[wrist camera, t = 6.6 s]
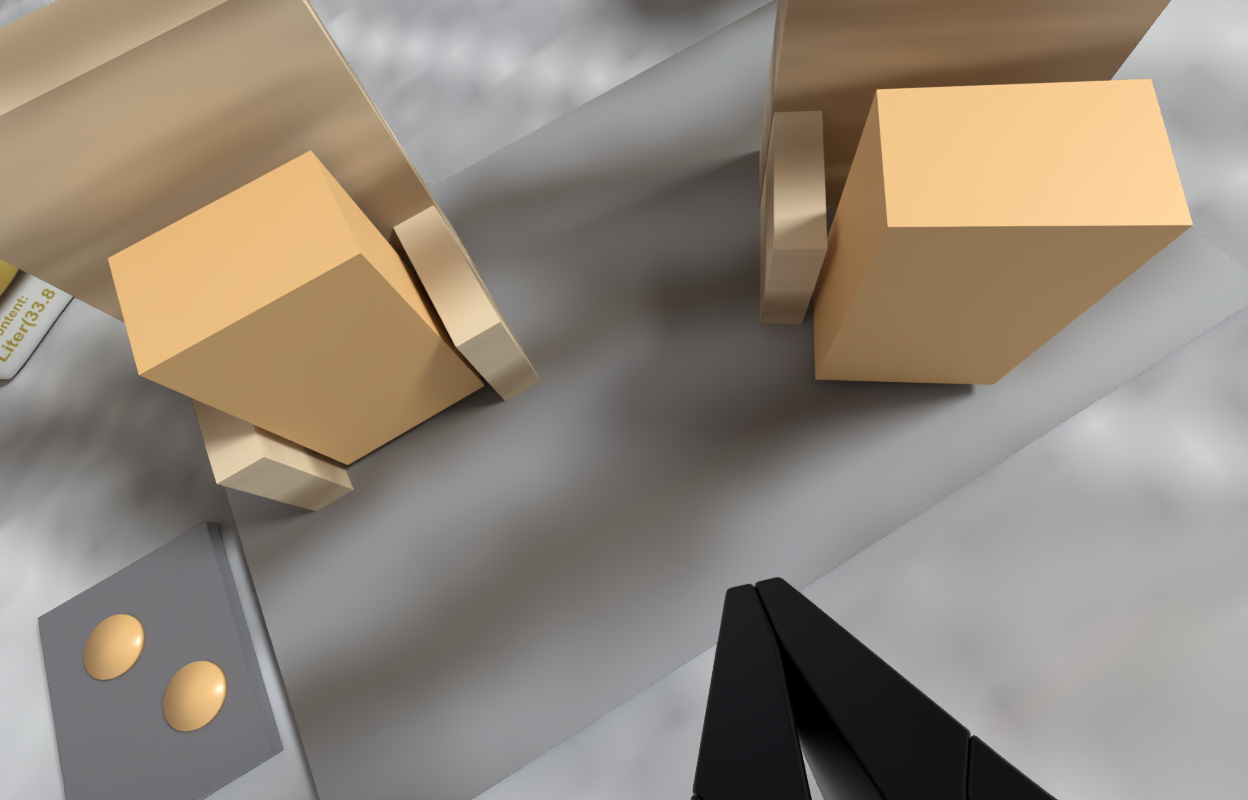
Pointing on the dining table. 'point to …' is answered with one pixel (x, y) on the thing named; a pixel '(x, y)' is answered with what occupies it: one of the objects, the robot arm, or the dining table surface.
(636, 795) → the dining table surface
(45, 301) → the juice carton
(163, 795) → the pattern card
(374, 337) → the far key
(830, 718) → the robot arm
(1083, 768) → the dining table surface
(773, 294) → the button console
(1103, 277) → the tan wooden block
